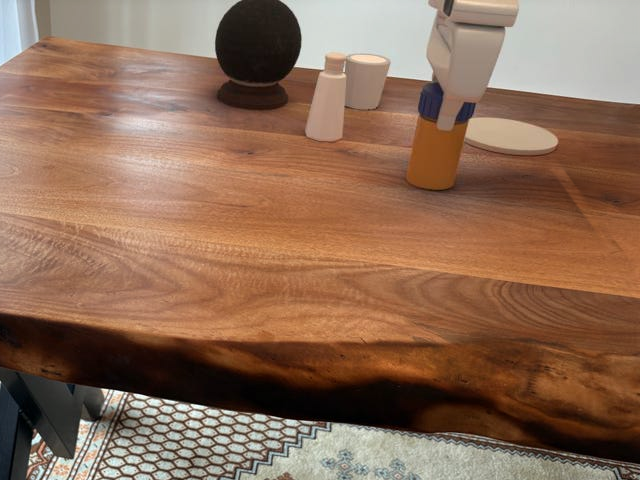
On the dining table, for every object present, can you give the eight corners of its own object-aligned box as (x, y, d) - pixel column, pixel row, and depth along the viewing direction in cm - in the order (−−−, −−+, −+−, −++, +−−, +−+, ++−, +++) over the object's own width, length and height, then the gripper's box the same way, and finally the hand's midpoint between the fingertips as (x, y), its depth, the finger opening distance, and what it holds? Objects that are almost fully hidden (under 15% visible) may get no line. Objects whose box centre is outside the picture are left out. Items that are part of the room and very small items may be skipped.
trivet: (543, 127, 116) (544, 121, 115) (568, 159, 104) (570, 154, 104) (447, 119, 117) (448, 113, 117) (462, 150, 106) (463, 144, 105)
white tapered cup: (355, 112, 118) (363, 65, 114) (329, 99, 123) (336, 54, 119) (391, 108, 121) (400, 62, 117) (364, 96, 126) (372, 51, 122)
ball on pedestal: (287, 88, 128) (299, -11, 119) (300, 112, 117) (314, 6, 108) (208, 85, 127) (215, -14, 119) (213, 110, 117) (221, 3, 108)
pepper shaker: (349, 140, 108) (364, 58, 101) (315, 143, 106) (328, 60, 100) (330, 128, 112) (343, 48, 105) (297, 131, 110) (308, 50, 104)
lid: (415, 104, 94) (420, 80, 93) (468, 107, 93) (474, 83, 92) (420, 119, 89) (425, 95, 88) (476, 123, 88) (482, 99, 87)
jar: (450, 174, 98) (470, 90, 92) (457, 191, 93) (478, 104, 87) (403, 170, 99) (420, 87, 93) (408, 188, 94) (426, 101, 88)
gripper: (431, -26, 92) (403, 91, 100) (457, 6, 76) (421, 143, 84) (485, -21, 92) (453, 96, 100) (523, 12, 75) (480, 150, 83)
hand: (438, 118), depth 92 cm, fingers closed on lid, 6 cm apart
